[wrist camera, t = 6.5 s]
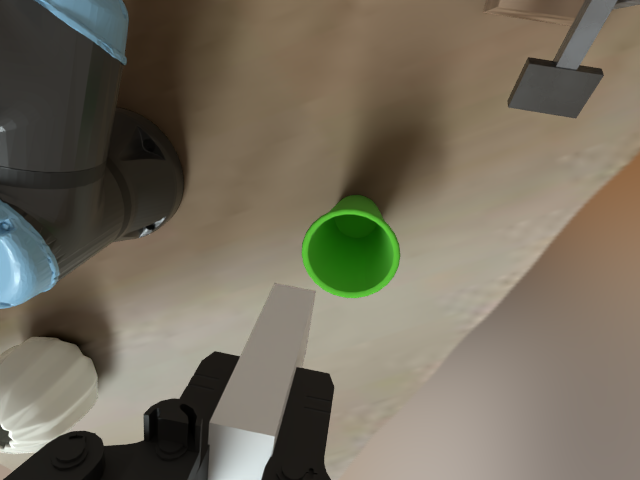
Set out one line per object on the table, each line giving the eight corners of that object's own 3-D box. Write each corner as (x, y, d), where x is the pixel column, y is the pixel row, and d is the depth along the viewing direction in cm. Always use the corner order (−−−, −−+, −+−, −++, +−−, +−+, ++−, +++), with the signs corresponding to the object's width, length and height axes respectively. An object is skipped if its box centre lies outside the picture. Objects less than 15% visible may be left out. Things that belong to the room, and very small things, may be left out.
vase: (127, 368, 64) (67, 442, 52) (80, 415, 69) (15, 492, 57) (48, 306, 62) (-34, 369, 50) (5, 360, 67) (-79, 429, 55)
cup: (380, 165, 48) (379, 194, 38) (407, 237, 51) (413, 283, 41) (305, 193, 51) (285, 228, 40) (335, 261, 53) (324, 309, 43)
